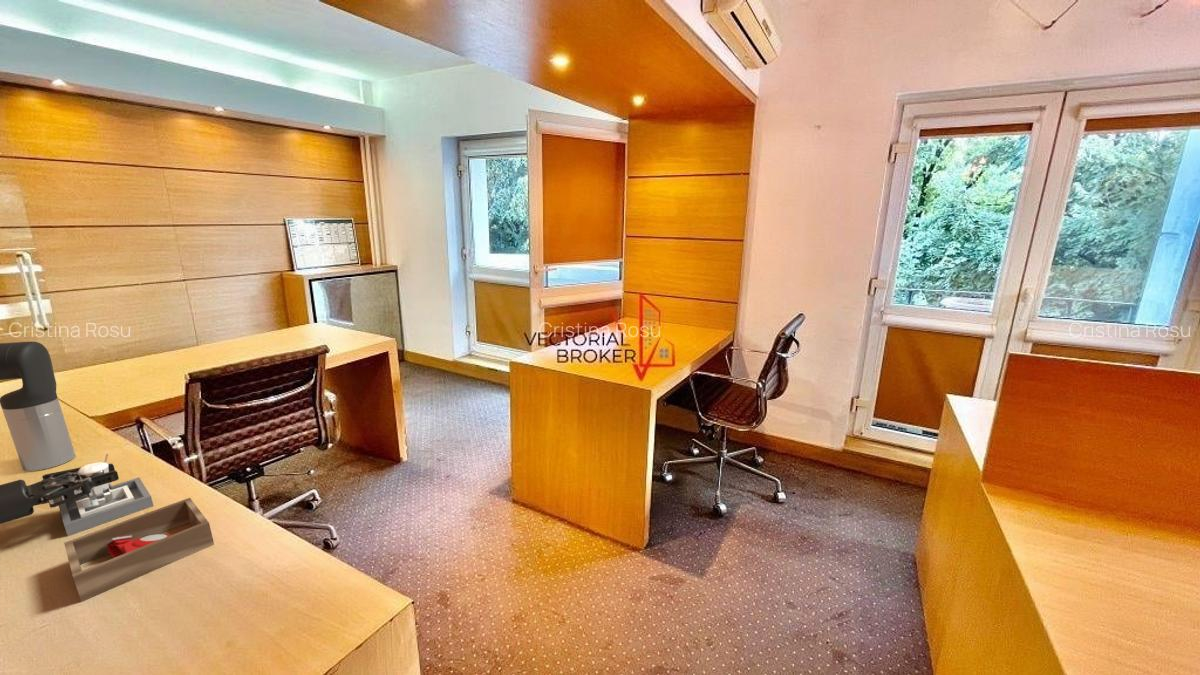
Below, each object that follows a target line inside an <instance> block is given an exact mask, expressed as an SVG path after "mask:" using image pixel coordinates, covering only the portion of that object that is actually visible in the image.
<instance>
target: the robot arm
mask: <svg viewBox="0 0 1200 675" xmlns="http://www.w3.org/2000/svg"><path fill="white" fill-rule="evenodd" d="M17 379H21V380H22V381H21V382H22V387H20V388H19V389H16V390H13V391H10V392H8V393H5V394H3V395H1V396H0V407H1V410H2V413H3V415H4V418H5V421H6V424H7V427H8V430H9V433H10V436H11V438H12V442H13V445H14V447H15V448H14V449H15V450H16V451H15V452H16V453H17V457H18V459H19V463H20V465H21V468H22V470H23V471H25V472H35V471H36V472H37V471H41V470H47V469H50V468H51V469H52V468H54V467H55V468H56V467H58V466H61V465H63V464H65V463H68V462H70V461H72V460H73V459H75V458H76V453H75V450H74V445H73V442H72V440H71V435H70V433H69V430H68V426H67V423H66V419H65V416H64V414H63V410H62V407H61V403H60V401H59V397H58V394H57V380H56V376H55V373H54V368H53V363H52V359H51V356H50V352H49V351H48V349H47V348H46V346H45V345H44V344H42V343H41V342H38V341H18V342H17V341H16V342H2V343H0V381H6V380H17ZM107 464H108V466H109V472H107V473H104V474H100V475H97V476H93V477H92V478H85V479H80V477H79V475H78V470H79V469H80V468H82V467H83V466H81V467H75V468H71V469H66V470H61V471H57V472H56V471H55V472H52V473H45V474H43V475H42V476H41V478H42V480H40V481H37V482H35V483H32V484H29V485H27V484H26V481H25V480H24V479H18V480H13V481H10V482H9V481H8V482H7V483H3V484H0V525H2V524H6V523H8V522H12V521H15V520H18V519H23V518H24V517H28V516H31V515H33V514H34V512H35V509H34V507H36V506H41V505H45V504H48V505H49V508H51V509H52V508H56V507H59V505H61V504H64V503H66V502H69V501H72V500H74V499H77V498H79V497H82V496H84V495H87V494H89V493H91V490H92V489H94V487H97V486H100V485H103V484H107V483H110V482H111V483H113V482H116V481H118V480H119V473H118V472H117V470H116V469H115V466H114V464H113V463H107Z"/></svg>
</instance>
